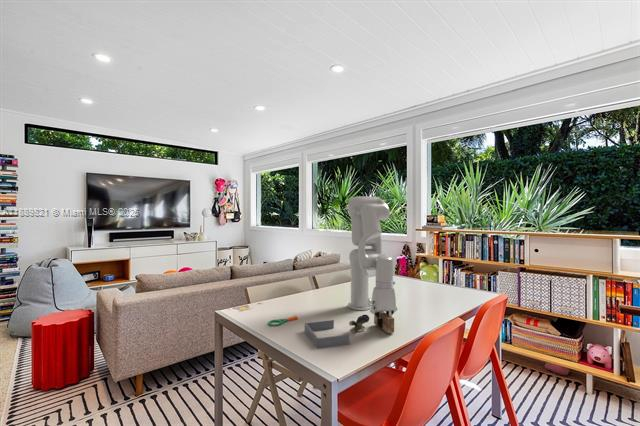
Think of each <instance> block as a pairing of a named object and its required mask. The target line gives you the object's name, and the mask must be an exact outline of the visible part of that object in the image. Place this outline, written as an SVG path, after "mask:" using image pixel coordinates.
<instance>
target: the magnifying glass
mask: <svg viewBox="0 0 640 426" xmlns="http://www.w3.org/2000/svg"><path fill="white" fill-rule="evenodd" d="M298 319H299V317H298V315H295V316H290V317H286V318H279V319H272V320H271V319H270V321H268V323H267V325H268V326H270V327H278V326H279V327H280V326H281V325H283V324H285V323H288V322H291V321H295V320H298ZM274 323H275V324H274Z"/></svg>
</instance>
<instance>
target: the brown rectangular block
mask: <svg viewBox="0 0 640 426" xmlns="http://www.w3.org/2000/svg"><path fill="white" fill-rule="evenodd" d="M375 312H376V309H375ZM382 319H383V325H382V328H380V327H379V326H378V325H377V317H376V316H375V315H374V314H373V325H375V326H377V327H378V328H380V329H382V330H383V331H384V332H385V333H387V334H391V333H392V334H394V333H395V318H394V317H393V316H392V317H391V316H390V315H388V314H386V311H384V312H382Z"/></svg>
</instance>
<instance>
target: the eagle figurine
mask: <svg viewBox="0 0 640 426" xmlns="http://www.w3.org/2000/svg"><path fill="white" fill-rule="evenodd" d="M370 319H371V318H370V316H369V315H368V314H362V315H360V316H358V317H357V319H356V321H355V320H354V319H353V320H350V321H348V323H349V326H354V327H353V329H354V334H356V333H357V332H358V331H359V330H362V331H363V332H365V330H364V328H365V326H364V325H363V324H365V323H366V324H367V323H368V322H369V321H370Z"/></svg>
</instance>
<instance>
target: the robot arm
mask: <svg viewBox="0 0 640 426" xmlns="http://www.w3.org/2000/svg"><path fill="white" fill-rule="evenodd" d="M347 204H348V205H347V209H348V213H349V217H350V221H351V243H352V245H353V246H356V247H357V248H356V249H355V248H353V249H352V250H350V252H349V255H348V256H349V257H348V258H349V265H350V302H349V303H348V304H347V308H349V309H352V310H353V311H354V310H355V311H367V310H369V313H371V314H373V316H374V315H375V316H376V317H377V325H378V326H379V327H378V326H377V325H376V326H377V327H378V328H380V329H381V328H382V325H383V319H382V312H385V313H386V314H388V315H390V316H391V317H393V314H395V313H396V312H397V311H398V307H397V298H396V292H395V288H394V285H396V282H395V281H394V259H393V258H392V257H391V256H389V255H388V254H386V253H383V252H382V251H383V250H382V237H381V235H382V227H381V221H387V220H388V219H389V218H390V216H391V213H390V211H391V210H390V207H389V206H388V204H387V203H386V202H385V201H384V200H383V199H382V198H381V197H379V196H363V195H362V196H358V195H357V196H353V197H351V198H349V199H348V203H347ZM366 247H370V248H366ZM369 271H375V286H374V287H373V289H372V295H371V298H369V280H370V279H369V273H368V272H369ZM375 310H376V312H375Z"/></svg>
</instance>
